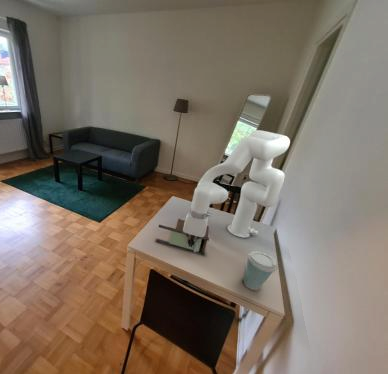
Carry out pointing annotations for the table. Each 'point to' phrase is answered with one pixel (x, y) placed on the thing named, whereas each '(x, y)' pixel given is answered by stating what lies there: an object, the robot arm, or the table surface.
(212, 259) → the table surface
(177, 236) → the pale green block
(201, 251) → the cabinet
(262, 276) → the disposable coffee cup
